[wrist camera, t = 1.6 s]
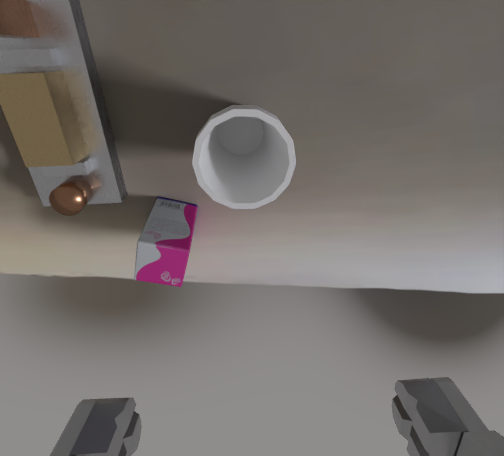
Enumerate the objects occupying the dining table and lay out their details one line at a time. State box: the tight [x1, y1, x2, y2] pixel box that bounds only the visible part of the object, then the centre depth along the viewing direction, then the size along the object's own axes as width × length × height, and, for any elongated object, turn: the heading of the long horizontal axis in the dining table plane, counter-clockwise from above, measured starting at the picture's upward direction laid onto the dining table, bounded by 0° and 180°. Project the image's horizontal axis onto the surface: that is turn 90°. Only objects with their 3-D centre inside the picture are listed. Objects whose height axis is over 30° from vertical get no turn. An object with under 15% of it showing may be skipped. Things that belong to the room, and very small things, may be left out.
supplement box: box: [134, 197, 198, 287], centre depth 40 cm, size 6×6×12 cm
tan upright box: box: [0, 71, 88, 167], centre depth 33 cm, size 9×5×4 cm, turn 1°
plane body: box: [0, 0, 127, 216], centre depth 32 cm, size 22×10×10 cm, turn 1°
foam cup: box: [192, 105, 296, 209], centre depth 33 cm, size 10×9×13 cm
